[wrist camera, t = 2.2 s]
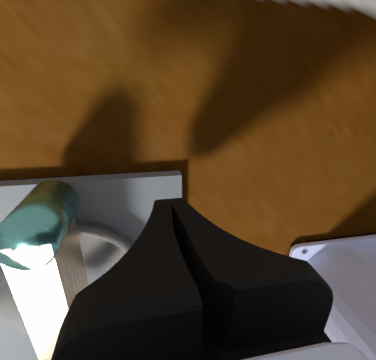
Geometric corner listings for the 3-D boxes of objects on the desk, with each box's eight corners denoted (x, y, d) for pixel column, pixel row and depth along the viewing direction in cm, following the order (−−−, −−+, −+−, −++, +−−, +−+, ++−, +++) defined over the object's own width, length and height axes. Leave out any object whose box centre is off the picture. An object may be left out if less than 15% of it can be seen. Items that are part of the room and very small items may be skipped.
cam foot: (148, 309, 17) (150, 382, 13) (26, 328, 16) (-13, 415, 12) (136, 168, 13) (134, 210, 9) (-33, 177, 12) (-126, 232, 8)
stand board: (179, 170, 14) (181, 175, 14) (180, 334, 20) (182, 344, 20) (-144, 189, 12) (-163, 196, 11) (-34, 372, 18) (-41, 385, 17)
